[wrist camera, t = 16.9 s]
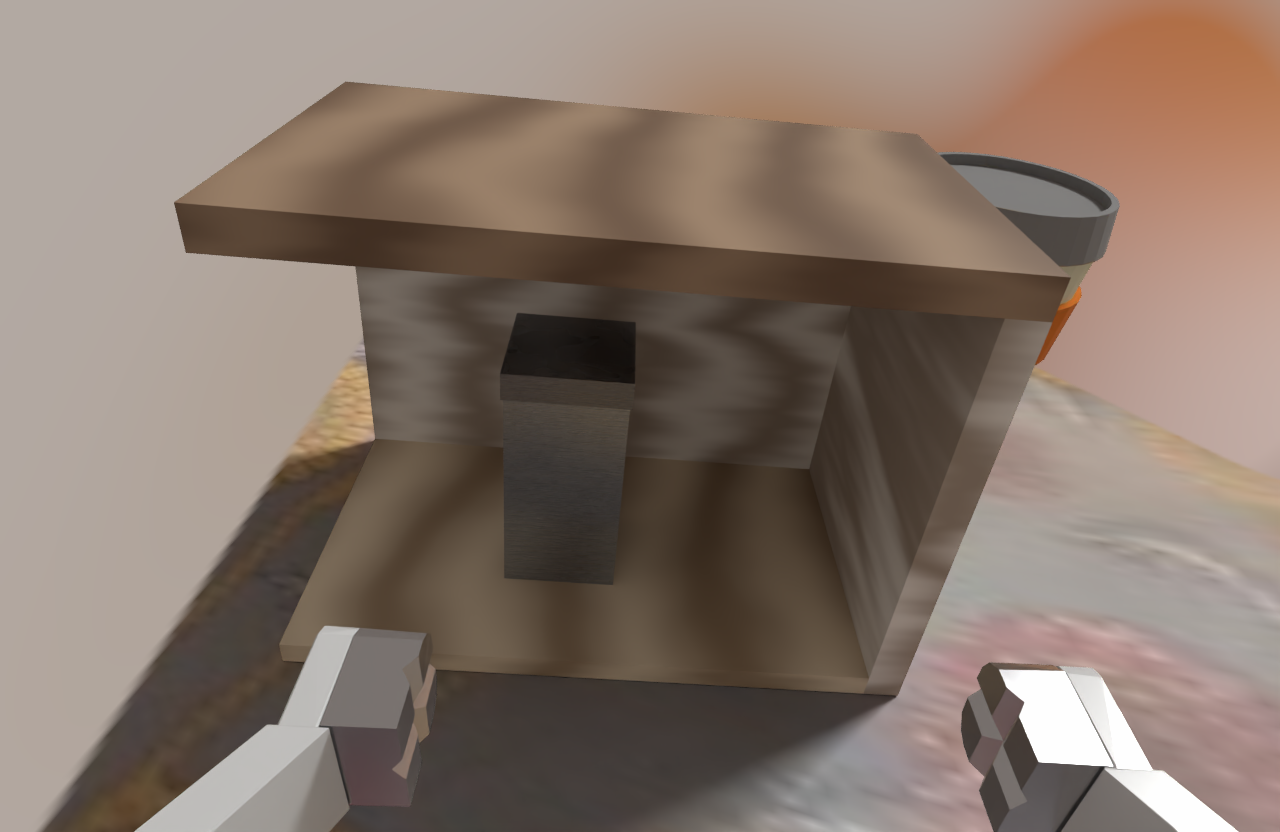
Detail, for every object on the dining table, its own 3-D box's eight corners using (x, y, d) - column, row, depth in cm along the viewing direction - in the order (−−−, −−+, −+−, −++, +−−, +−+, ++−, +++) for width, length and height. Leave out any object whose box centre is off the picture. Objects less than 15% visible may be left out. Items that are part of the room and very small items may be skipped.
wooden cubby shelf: (826, 468, 48) (916, 134, 37) (897, 695, 35) (1070, 277, 24) (383, 437, 47) (345, 81, 36) (282, 660, 34) (173, 202, 23)
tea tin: (617, 512, 42) (635, 322, 36) (615, 586, 37) (635, 384, 31) (516, 506, 41) (517, 312, 35) (501, 579, 37) (499, 373, 31)
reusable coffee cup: (813, 364, 59) (863, 156, 50) (938, 338, 64) (1002, 146, 56) (938, 462, 50) (1024, 228, 41) (1072, 422, 55) (1171, 208, 47)
